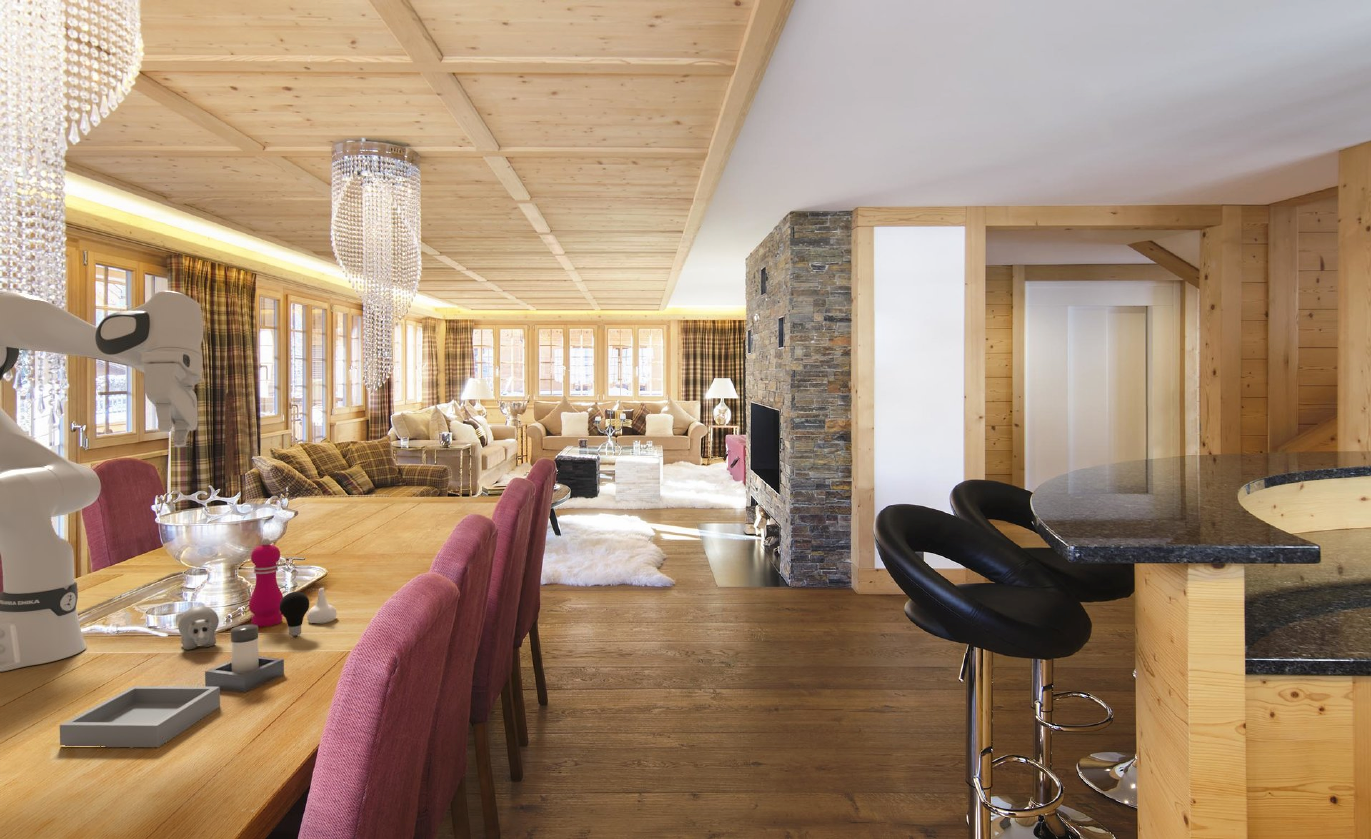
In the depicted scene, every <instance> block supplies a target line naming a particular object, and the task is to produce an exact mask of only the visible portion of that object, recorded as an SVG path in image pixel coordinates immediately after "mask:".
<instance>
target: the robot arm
mask: <svg viewBox="0 0 1371 839" xmlns="http://www.w3.org/2000/svg"><path fill="white" fill-rule="evenodd" d="M203 340H204V316H203V311H202V307H201V304H200V303H199V302H198V301H197V300H196V299H194V298H193V297H191V296H189V295H187V294H185V293H182V292H178V291H173V290H162V291H158V292H155V293H154V294H153V295H152V296H151V297H150V299H148V301H146V302H145V303H143V304H141V305H139V306H137V307H134V308H132V309H129V310H128V309H127V310H124V311H123V310H121V311H116V312H113V313H111V314H109V315H107V316H105V317H104V318H103V319H102V320H101V321H100V323H99V324H98V326H96V325H93V323H92V324H91V323H90V322H88V321H86V320H84V319H82V318H80V317H78V316H76V315H74V314H73V313H71V312H69V311H68V310H65V309H64V308H62V307H60V306H59V305H56V304H54V303H52V302H50V301H47V300H46V299H43V298H40V297H38V296H34V295H32V294H27V293H22V292H16V291H10V290H1V289H0V382H1V381H2V379H3V378H4V375H5V374H7V373H8V372H9V371H11V369H13V367H14V366H15V365H16V363H17V361H18V358H19V355H20V350H29V351H34V352H44V353H53V354H61V355H67V356H68V355H69V356H76V357H82V358H83V357H84V358H88V359H92V360H93V359H94V360H99V361H103V362H108V363H114V364H117V365H121V366H127V367H130V368H132V369H134V370H136V371H139V372H141V373H143V374H144V375H143V376H144V377H143V378H144V390H145V395H146V398H147V400H149V401H150V403H151V404H152V405H153V406H154V407H155V413H156V417H157V418H156V419H157V429H158V430H159V431H160V432H162V433H166V432H167V433H169V432H172V429H173V428H174V431H175V432H174V435H173V438H172V441H173V442H172V443H173V445H174V447H176V448H185V447H186V446H187V438H188V435H189V432H190V431H196V429H197V428H198V423H199V421H198V418H199V414H198V413H199V412H198V398H197V395H196V393H195V391H194V390H193V389H194V388H195V385H197V384H200V383H201V382H202V380H203V352H202V350H201V347H202V346H201V345H202V344H203ZM172 427H173V428H172ZM101 489H102V485H101V481H100V478H99V476H98V474H97V473H96V471H94V470H93V469H92V468H90V467H88V466H86V465H83V464H80V463H78V462H74V461H71V460H69V459H67V458H66V457H63V456H62V455H59V454H58V453H56V452H55V451H53V450H52V449H50V448H48V447H47V446H46V445H43V444H42V443H40V442H39V441H37V440H36V439H34V438H33V437H32V436H31V435H29V434H28V433H26V431H25V430H24V429H23V428H21V426H19V424H18V423H16V421H15V420H14V419H13V418H12V417H11V416H10V415H8V413H7V412H6V411H5V410H4V409H3V407H1V406H0V558H1V559H0V560H1V569H2V585H3V587H2V588H3V590H2V591H1V592H0V672H6V671H10V670H16V669H20V668H24V667H30V666H35V665H43V664H47V663H51V662H55V661H59V660H62V659H65V658H69V657H72V656H74V655H77V654H79V653H81V652H83V651H84V650H86V649H87V644H86V641H85V639H84V636H83V632H82V629H81V624H80V619H79V615H78V610H77V604H78V596H79V594H78V591H79V589H78V588H79V587H78V583H77V581H75V561H74V560H75V559H74V557H75V556H74V555H75V554H74V548H73V545H72V544H71V543H70V542H69V541H68V540H65V539H64V538H62V537H59V535H58V534H57V532H56V531H55V528H54V526H53V523H52V518H55V517H60V516H67V515H70V514H73V513H76V512H79V511H81V510H83V509H85V508H87V507H88V506H91V505H92V504H94V503H95V502H96V501H97V499H98V498H99V496H100V493H101Z"/></svg>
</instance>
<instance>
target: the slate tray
mask: <svg viewBox="0 0 1371 839" xmlns="http://www.w3.org/2000/svg"><path fill="white" fill-rule="evenodd" d="M220 692H221V689H220V687H205V686H181V685H180V686H178V685H177V686H176V685H175V686H173V685H172V686H171V685H170V686H157V685H156V686H153V685H152V686H150V685H149V686H146V685H139V686H138V685H134V686H131V687H129V688H128V689H125V690H123V691H121V692H120V693H118V694H116V695H114V696H112V697H110V698H108V699H106V700H105V701H102V702H101V703H98V704H97V705H95V706H93V707H91V708H90V709H88V710H86V711H83V712H82V713H79V714H78V715H75V716H74V717H72V718H71V719H69V720H66V721H65V722H63V723H61V724H59V746H60V745H65V746H100V747H101V746H105V747H130V748H129V749H134V748H133V747H159V746H160V747H162V746H163V745H165V744H166V743H167V742H166V741H168V742H169V741H171V740H172V739H174V738H176V737H177V736H179V734H181V733H183V732H184V731H186V730H188V729H189V728H190V727H192V726H193V725H195V724H196V723H198V722H200V721H201V720H203V717H204V718H206V717H207V716H208V715H210V714H211V713H213V712H215V711H216V710H217V709H219V708H220V707H221V695H220V694H221V693H220ZM200 719H201V720H200ZM197 721H198V722H197ZM173 737H174V738H173ZM170 739H171V740H170ZM165 742H166V743H165ZM164 743H165V744H164ZM162 744H163V745H162ZM161 745H162V746H161ZM160 747H159V748H160Z"/></svg>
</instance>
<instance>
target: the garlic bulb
mask: <svg viewBox="0 0 1371 839" xmlns="http://www.w3.org/2000/svg"><path fill="white" fill-rule="evenodd" d="M337 612H338V611H337V609H336V608H335V607H334V606H333V605H331V604H329V603H328V602H327V600H326V595H325V587H320V588H318V595H317V599H316V604H314V606H312V607H311V608H309V609H308V611H307V613H306V614H307V615H306V618H307V621H308V622H309V623H310V624H312V623H323V624H327V623H326V622H328V623H331V622H333V621H334V620H335V619H336V618H337V614H338V613H337ZM330 621H331V622H330Z"/></svg>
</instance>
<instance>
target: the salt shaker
mask: <svg viewBox="0 0 1371 839" xmlns="http://www.w3.org/2000/svg"><path fill="white" fill-rule="evenodd" d="M230 654H231V655H230V657H231V660H230V661H231V665H232V672H235V673H243V674H245V673H247V672H250V671H252V670H254V669H257V668H259V655H260V654H259V627H258V626H257V625H252V624H243V625H238V626H235V627H233V628H231V629H230Z"/></svg>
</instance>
